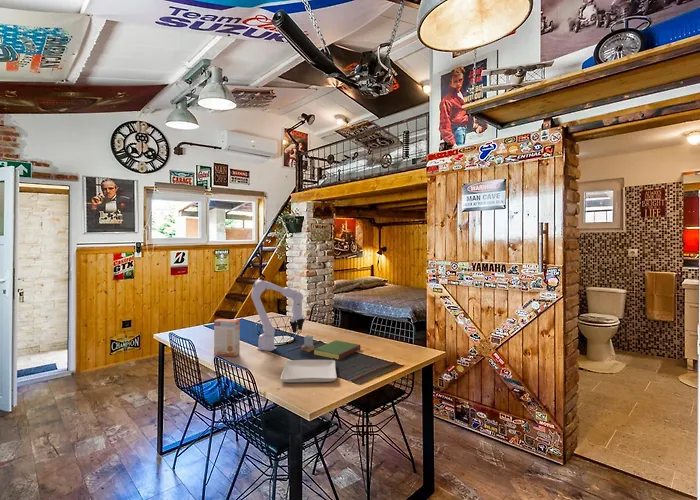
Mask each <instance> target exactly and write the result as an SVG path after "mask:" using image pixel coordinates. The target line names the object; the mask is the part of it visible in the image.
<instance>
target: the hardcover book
mask: <svg viewBox="0 0 700 500" xmlns="http://www.w3.org/2000/svg"><path fill="white" fill-rule="evenodd" d="M358 350H359V351H361V344H358V343H352V342H347V341H342V340H334V341H331V342H328V343H326V344H323V345H321V346H318V347H316V348H315V347H314V350H313V355H315V356H320V357H324V358H330V359H333V358H335V359H334V360H338V359H339V361H340V359H341V360H343V359H344V357H345V358H347V357H348V355H349V354H351V353H353V354H355V353H356V351H357V352H359V351H358ZM354 352H355V353H354ZM351 355H352V354H351ZM346 356H347V357H346ZM349 356H350V355H349ZM342 358H343V359H342Z"/></svg>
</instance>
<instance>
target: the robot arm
mask: <svg viewBox="0 0 700 500" xmlns="http://www.w3.org/2000/svg"><path fill="white" fill-rule="evenodd" d="M265 290H268V291H269V290H272V291H273V290H274V291H276V292H279V293H281V294H282V296H283V297H286V298H289V299H290V300H292V318H291V319H290V321H289V325H290V326H291V327H290V328H291V330H292V333H294V334H296V333H297V331H302V329H303V325H304V323H305V321H306V319H305V318H304V317H305V315H303V300H304V295H303V293H302V292H299V290H296V289H292V288H291V287H289V286H288V287H287V286H285V287H282V286H280V285H278V284H276V283H275V284H274V283H272V282H270V281H266V280H262V279H256V280H255V281H254V283H253V284H252V289H251V294H250V297H251V300H252V302H253V305H254V306H255V310H256V312H257V314H258V316H259V319H260V321H261V324H262V331H263V333H262V334H260V335H259V336H258V345H257V346H258V348H257V350H260V351H267V352H273V351H274V350H275V349H277V348H278V347H277V346H275V331H276V329H275V327H274V326H273V324H272V323H271V321H270V319H269V317H268V314H267V312H266V310H265V306H264V304H263V302H262V300H261V295H262V293H264V292H265Z"/></svg>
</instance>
